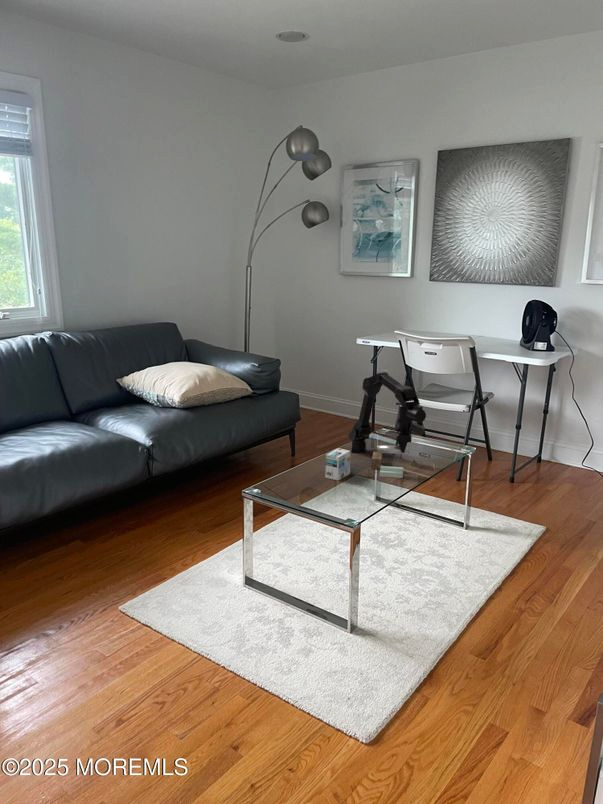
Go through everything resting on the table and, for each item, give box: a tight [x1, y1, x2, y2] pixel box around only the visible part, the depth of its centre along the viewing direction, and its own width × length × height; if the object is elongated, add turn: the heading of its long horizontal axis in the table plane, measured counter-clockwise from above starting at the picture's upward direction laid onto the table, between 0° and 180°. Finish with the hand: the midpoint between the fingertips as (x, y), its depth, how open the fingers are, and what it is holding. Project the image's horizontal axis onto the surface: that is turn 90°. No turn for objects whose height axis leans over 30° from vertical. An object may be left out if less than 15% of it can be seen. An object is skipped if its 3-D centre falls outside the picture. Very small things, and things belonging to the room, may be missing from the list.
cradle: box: [379, 465, 404, 479], centre depth 270 cm, size 10×8×2 cm
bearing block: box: [371, 451, 383, 470], centre depth 279 cm, size 4×10×5 cm, turn 170°
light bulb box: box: [325, 447, 352, 481], centre depth 266 cm, size 11×7×11 cm, turn 146°
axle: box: [376, 444, 411, 455], centre depth 267 cm, size 14×4×4 cm, turn 80°
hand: (403, 451), depth 266 cm, fingers closed on axle, 3 cm apart
